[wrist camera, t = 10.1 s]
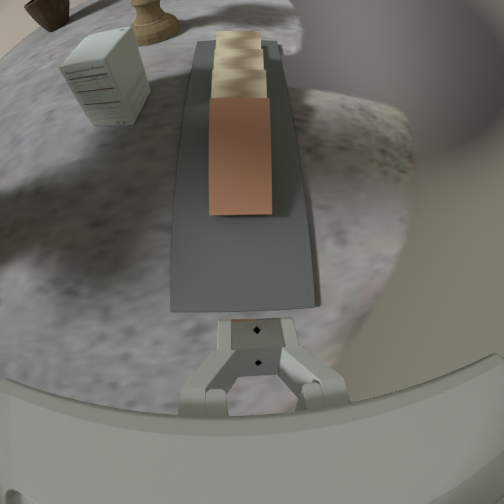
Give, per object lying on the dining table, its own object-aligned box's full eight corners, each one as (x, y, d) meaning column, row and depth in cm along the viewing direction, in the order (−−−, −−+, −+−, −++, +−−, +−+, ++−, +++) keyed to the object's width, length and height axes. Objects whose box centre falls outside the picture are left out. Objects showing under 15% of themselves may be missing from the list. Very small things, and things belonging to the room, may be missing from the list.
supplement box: (111, 93, 33) (87, 34, 21) (152, 91, 33) (134, 24, 21) (91, 127, 31) (56, 67, 19) (134, 126, 31) (104, 56, 19)
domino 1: (213, 102, 29) (216, 31, 28) (214, 107, 31) (217, 38, 30) (262, 101, 30) (260, 31, 28) (261, 107, 32) (259, 38, 30)
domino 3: (210, 169, 27) (212, 69, 25) (211, 172, 29) (213, 77, 27) (268, 168, 27) (266, 69, 25) (266, 171, 29) (264, 77, 27)
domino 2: (211, 133, 28) (214, 49, 26) (213, 138, 30) (215, 57, 28) (265, 133, 29) (262, 49, 27) (263, 137, 31) (261, 56, 29)
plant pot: (33, 45, 40) (16, 12, 25) (46, 27, 44) (33, -3, 28) (73, 24, 42) (59, -13, 27) (83, 9, 45) (72, -24, 30)
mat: (172, 312, 26) (170, 311, 25) (197, 44, 37) (197, 41, 36) (313, 307, 27) (315, 307, 26) (276, 44, 38) (276, 41, 37)
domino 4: (209, 215, 26) (209, 98, 24) (210, 215, 28) (211, 105, 26) (272, 214, 26) (269, 98, 24) (269, 213, 28) (267, 104, 26)
